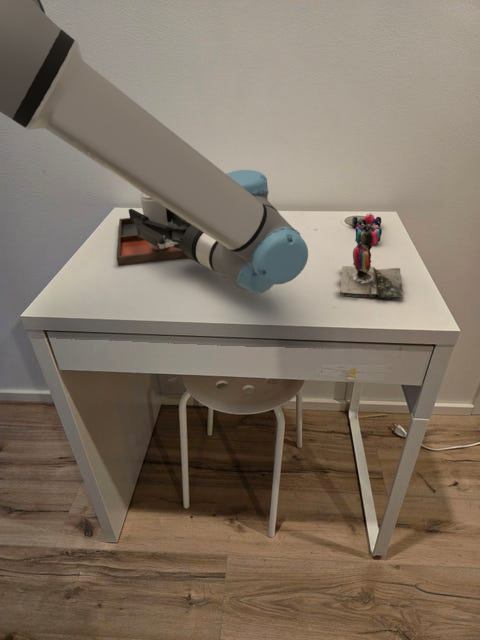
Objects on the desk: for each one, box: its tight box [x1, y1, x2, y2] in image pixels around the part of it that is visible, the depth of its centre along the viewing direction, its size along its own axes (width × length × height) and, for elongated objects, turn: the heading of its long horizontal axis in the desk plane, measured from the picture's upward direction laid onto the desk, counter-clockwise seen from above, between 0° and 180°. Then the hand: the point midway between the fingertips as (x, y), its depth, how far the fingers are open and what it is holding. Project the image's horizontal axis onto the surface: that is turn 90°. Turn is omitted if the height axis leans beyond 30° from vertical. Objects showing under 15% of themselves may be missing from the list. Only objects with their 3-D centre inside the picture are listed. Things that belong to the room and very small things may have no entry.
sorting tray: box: [116, 217, 189, 266], centre depth 100 cm, size 18×20×2 cm
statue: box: [339, 212, 404, 301], centre depth 79 cm, size 11×9×15 cm
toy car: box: [351, 216, 382, 228], centre depth 100 cm, size 12×6×4 cm, turn 177°
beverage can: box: [140, 192, 168, 250], centre depth 93 cm, size 5×5×12 cm
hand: (142, 211), depth 96 cm, fingers closed on beverage can, 5 cm apart
